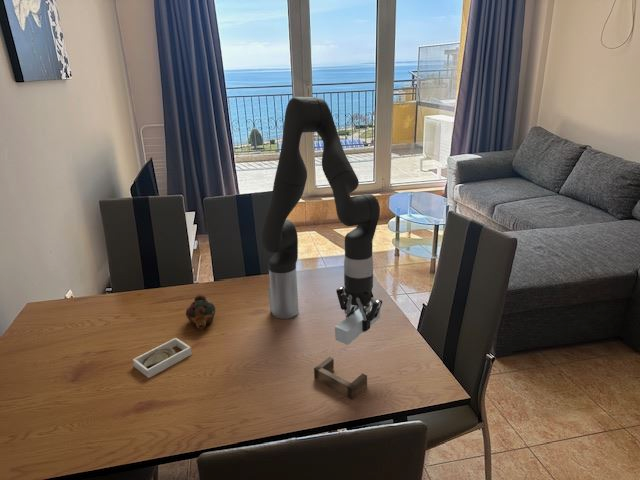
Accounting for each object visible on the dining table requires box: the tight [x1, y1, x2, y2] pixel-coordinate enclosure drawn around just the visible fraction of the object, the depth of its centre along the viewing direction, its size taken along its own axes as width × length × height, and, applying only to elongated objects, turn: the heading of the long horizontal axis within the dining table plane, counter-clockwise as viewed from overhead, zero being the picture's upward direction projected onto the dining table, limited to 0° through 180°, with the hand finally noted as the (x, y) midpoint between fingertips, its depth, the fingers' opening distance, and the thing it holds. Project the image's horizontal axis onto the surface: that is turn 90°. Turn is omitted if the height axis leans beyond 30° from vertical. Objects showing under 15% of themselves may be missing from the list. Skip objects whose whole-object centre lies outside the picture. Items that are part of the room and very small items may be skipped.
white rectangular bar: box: [334, 301, 381, 346], centre depth 120 cm, size 4×16×4 cm, turn 142°
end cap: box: [313, 356, 368, 400], centre depth 119 cm, size 13×6×4 cm, turn 49°
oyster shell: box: [142, 347, 178, 368], centre depth 130 cm, size 6×4×10 cm
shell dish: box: [132, 337, 193, 379], centre depth 131 cm, size 8×14×2 cm, turn 139°
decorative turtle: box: [185, 292, 216, 330], centre depth 150 cm, size 10×15×8 cm, turn 19°
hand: (358, 327), depth 121 cm, fingers closed on white rectangular bar, 4 cm apart
